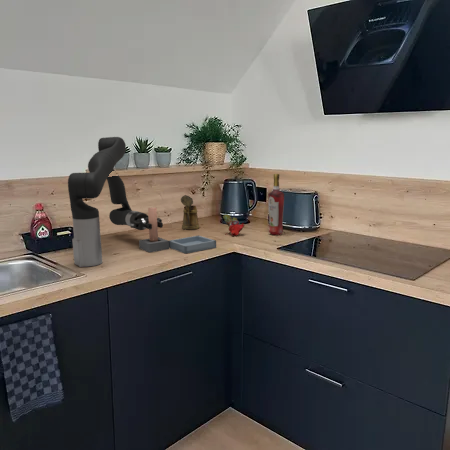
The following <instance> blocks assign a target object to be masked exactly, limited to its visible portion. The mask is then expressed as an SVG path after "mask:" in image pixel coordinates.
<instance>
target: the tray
mask: <svg viewBox="0 0 450 450" xmlns="http://www.w3.org/2000/svg"><path fill="white" fill-rule="evenodd" d="M168 241H169V249H171V250H174V251H177V252H180V253H183V254H185V255H186V254H190V253H191V254H192V253H196V252H202V251H206V250H207V251H208V250H212V249H216V248H217V240H215V239H212V238H208V237H206V236H202V235H193V236H187V237H183V238H177V239H170V240H168Z"/></svg>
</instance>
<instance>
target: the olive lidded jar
mask: <svg viewBox="0 0 450 450" xmlns="http://www.w3.org/2000/svg"><path fill="white" fill-rule="evenodd" d="M180 202H181V204H182V205H183V206H184V208H183V211H182V212H183V217H182V225H181V229H182V230H185V229H186V230H187V231H190V230H191V231H195V230H198V229H200V223H199V218H198V216H199V215H198V208H197V206H196V205H193V204H194V200H193V198H192V197H191V196H189V195H186V194H185V195H182V196H181V197H180Z"/></svg>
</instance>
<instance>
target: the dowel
mask: <svg viewBox="0 0 450 450" xmlns="http://www.w3.org/2000/svg"><path fill="white" fill-rule="evenodd" d="M147 209H148V210H147V215H148V217H149V223H150V224H152V229H148V232H149V233H148V234H149V238H150V242H157V241H158V237H159V234H158V232H159V231H158V228H159V227H157V218H158V213H157V212H158V211H157V207H154V206H153V207H148V208H147Z"/></svg>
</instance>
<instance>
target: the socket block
mask: <svg viewBox="0 0 450 450" xmlns="http://www.w3.org/2000/svg"><path fill="white" fill-rule="evenodd" d="M169 241H170V240H167V239H166V238H162V237H159V236H158V241H157V242H150V237H149V238H145V239H139V240H138V247H139V250H142V251H145V252H147V253H155V252H160V251H167V250H170V248H169Z"/></svg>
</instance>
